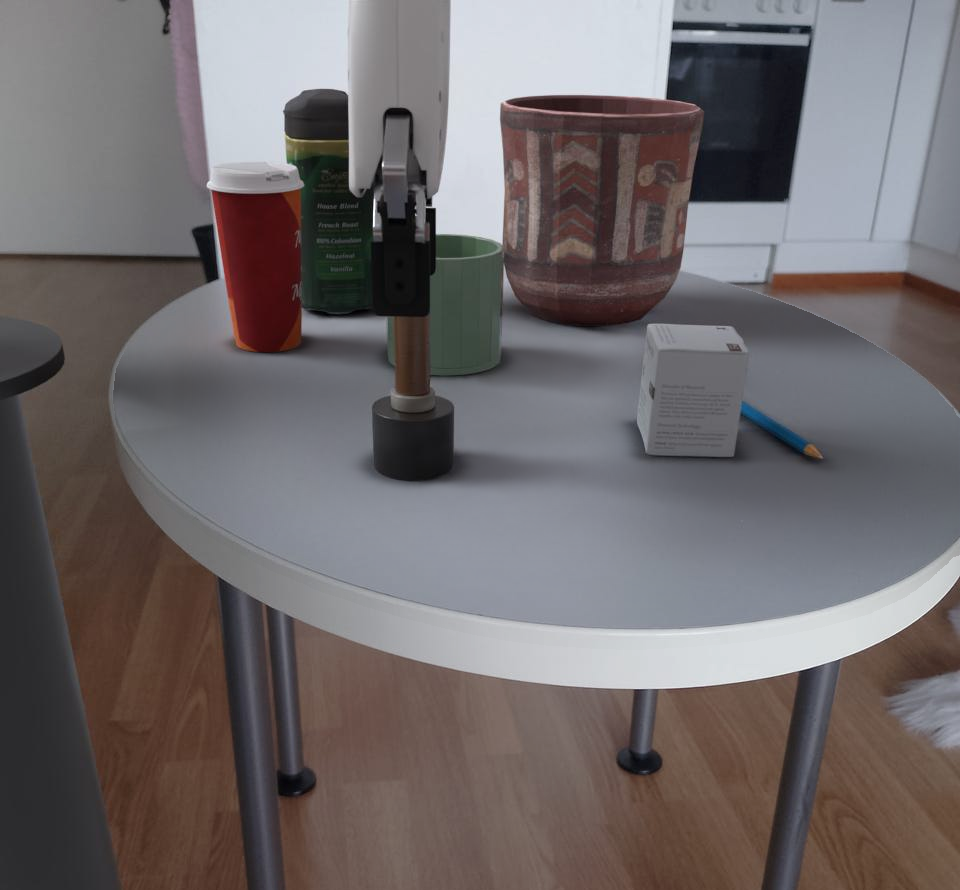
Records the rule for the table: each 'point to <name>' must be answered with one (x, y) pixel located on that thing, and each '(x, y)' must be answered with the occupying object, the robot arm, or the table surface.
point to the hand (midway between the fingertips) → (406, 293)
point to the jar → (463, 306)
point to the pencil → (779, 430)
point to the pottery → (595, 203)
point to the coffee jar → (329, 204)
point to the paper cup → (260, 251)
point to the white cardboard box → (692, 390)
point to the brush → (413, 410)
